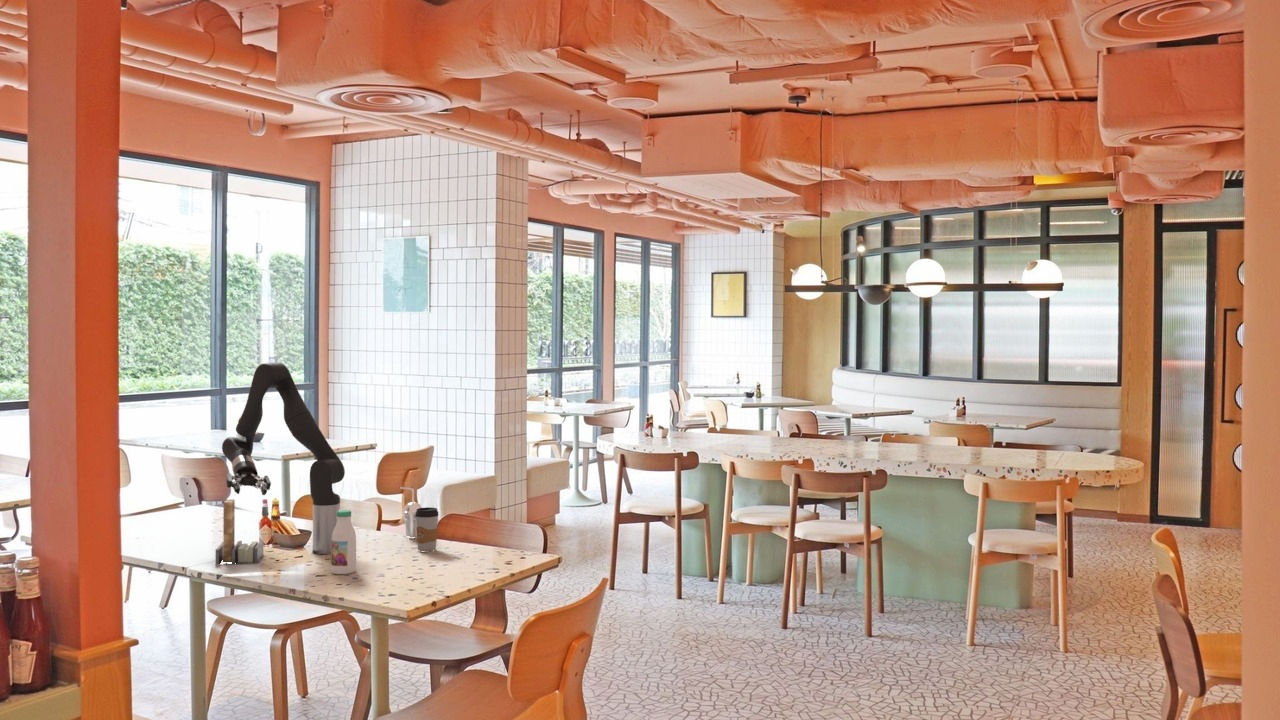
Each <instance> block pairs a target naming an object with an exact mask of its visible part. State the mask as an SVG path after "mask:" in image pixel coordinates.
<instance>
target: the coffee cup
mask: <svg viewBox="0 0 1280 720" xmlns="http://www.w3.org/2000/svg"><path fill="white" fill-rule="evenodd" d="M415 516H416V533H417V539H416V542H417V543H416V544H417V550H418V551H419V550H420V551H433V550H435V551H436V549H437V540H438V538H437V537H438V522H439V511H438V508H437V507H427V506H426V507H422V508H418V509H417V511H416V513H415ZM433 552H434V551H433Z"/></svg>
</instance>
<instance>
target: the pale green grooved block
mask: <svg viewBox="0 0 1280 720" xmlns="http://www.w3.org/2000/svg"><path fill="white" fill-rule="evenodd" d="M258 543H259V542H258V541H257V540H256V541H251V543H250V544H248V543H242V545H241V546H240V547H239V549H238V562H254V548H255V547H256V545H257V544H258Z"/></svg>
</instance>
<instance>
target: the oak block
mask: <svg viewBox="0 0 1280 720" xmlns="http://www.w3.org/2000/svg"><path fill="white" fill-rule="evenodd" d="M235 501H236V499H225V501H223V535H222V536H223V539H222V540H223V541H222V542H223V562H232V548H233V547H234V546H235V545H236V544H235V543H236V542H235V536H236V535H235V530H236V529H235V526H236V525H235V524H236V523H235V511H236V510H235V509H236V508H235V507H236V506H235V504H236V502H235Z"/></svg>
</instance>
